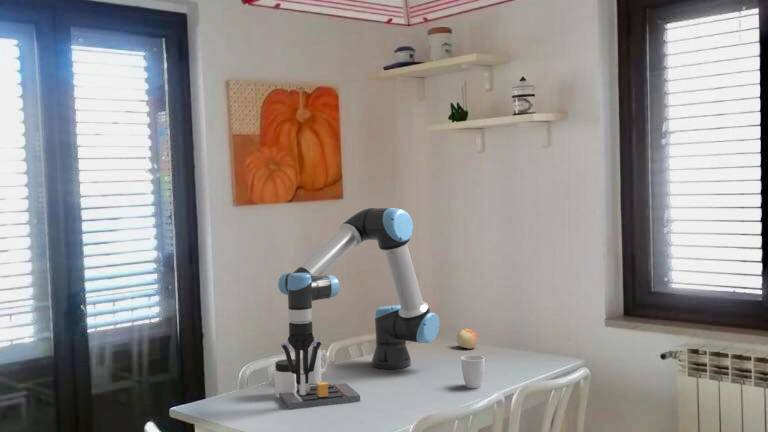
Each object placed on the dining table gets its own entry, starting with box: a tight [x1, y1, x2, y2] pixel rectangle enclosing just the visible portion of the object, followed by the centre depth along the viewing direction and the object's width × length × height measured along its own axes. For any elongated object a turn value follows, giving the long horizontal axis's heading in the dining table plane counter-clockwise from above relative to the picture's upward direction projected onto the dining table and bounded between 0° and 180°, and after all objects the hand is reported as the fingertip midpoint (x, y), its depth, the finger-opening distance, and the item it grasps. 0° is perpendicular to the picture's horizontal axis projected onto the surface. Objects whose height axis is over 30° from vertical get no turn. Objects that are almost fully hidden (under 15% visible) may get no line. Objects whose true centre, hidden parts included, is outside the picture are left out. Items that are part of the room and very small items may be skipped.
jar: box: [273, 358, 297, 399], centre depth 275 cm, size 9×8×12 cm
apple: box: [456, 328, 479, 350], centre depth 344 cm, size 9×9×8 cm
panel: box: [278, 380, 361, 411], centre depth 271 cm, size 24×17×7 cm
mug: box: [301, 346, 329, 385], centre depth 293 cm, size 10×7×12 cm, turn 127°
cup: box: [460, 354, 486, 389], centre depth 282 cm, size 8×8×10 cm
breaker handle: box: [316, 381, 329, 397], centre depth 265 cm, size 3×3×4 cm
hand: (302, 393), depth 263 cm, fingers closed
